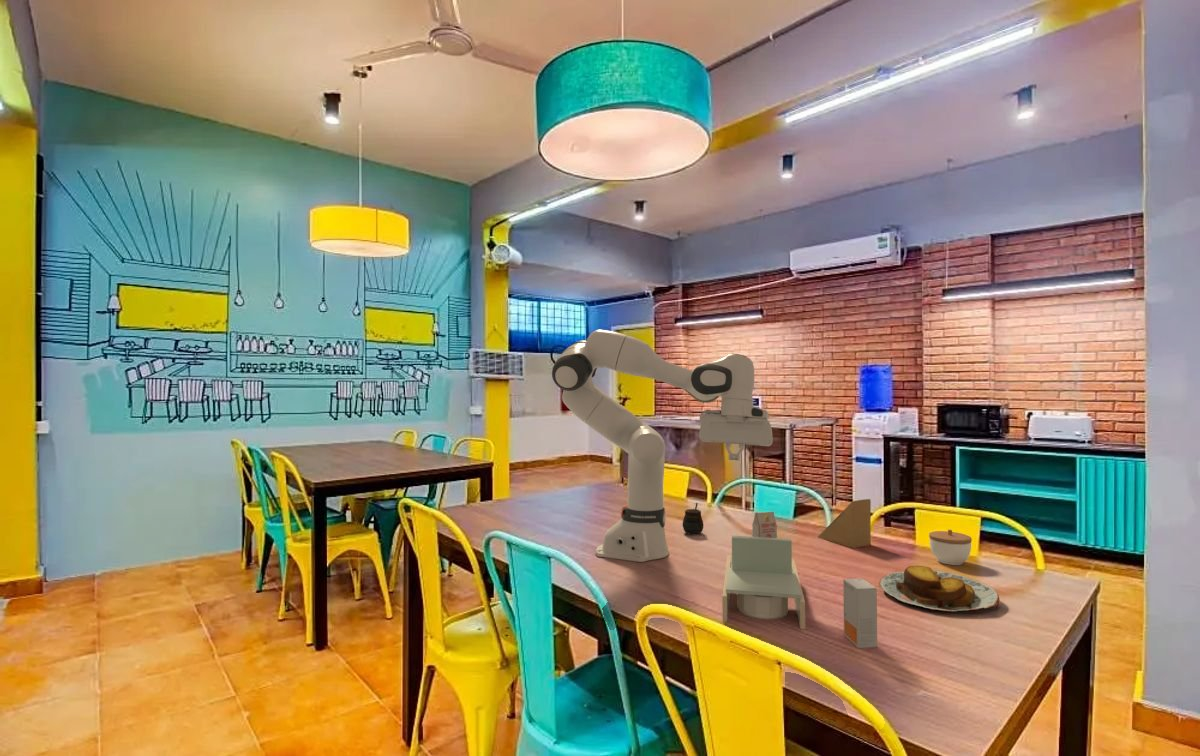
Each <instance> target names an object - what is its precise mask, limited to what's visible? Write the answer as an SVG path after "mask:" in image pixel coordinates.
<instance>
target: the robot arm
mask: <svg viewBox="0 0 1200 756" xmlns="http://www.w3.org/2000/svg"><path fill="white" fill-rule="evenodd" d="M598 368H606V369H608V370H609V369H610V370H612V371H615V372H618V373H622V374H626V375H630V376H636V377H642V378H647V379H652V380H656V381H659V382H662V383H665V384H667V385H671V386H672V387H675V388H678V389H681V390H683V391H685V392H686V393H687V394H689V396H691V397H692V398H693V399H694V400H696V401H698V402H700V403H705V404H706V403H707V404H708V403H713V402H714V401H716V400H717V399H718V398H721V401H720V402H721V406H720V410H719V409H715V410H714V409H713V410H711V409H705V410H704V411H701V413H700V414H699V424H700V428H699V434H698V439H699V440H700V441H701V442H703V443H717V444H724V445H725V449H726V451H727V453H728V460H729V461H741V460H740V459H741V454H742V453H743V451H744V450H745V445H746V446H761V447H762V446H763V447H770V446H771V445H772V444H773V430H772V424H771V422H770V421H769V418H770V413H769V412H768V410H765V409H762V408H760V407H758V406H755V405H754V397H753V391H754V390H755V389H754V388H755V366H754V363H753V360H752V359H751V358H749V357H748V356H745V355H743V354H738V353H729V354H727V355H725V356H724V357H722V358H720V359H718V360H714V361H711V362H705V363H701V364H699V365H698V366H696V367H695V368H694V369H689V368H686V367H683V366H681V365H678V364H674V363H672V362H669V361H667V360H665V359H663V358H662V357H661V356H659V355H658V354H657V353H656V352H655V351H654V349H653V348H652V347H651V345H649V344H648V343H646V342H645V341H643V340H640V339H638V338H637V337H633V336H630V335H627V334H624V333H621V332H617V331H612V330H605V329H596V330H594V331H592V332H591V333H590V334H589V335H588V337H587V338H586V340H577V341H575V342H573V343H572V344H571V345H569V346H568V347H567V348H566V349H564V351H562V353H561V354H560V357H559V358H557V360H555V362H554V365H553V367H552V371H551V377H552V380H553V383H554V384H555V385H556V386H557V387H558V388H560V390H563V392H562V395H561V399H562V402H563V404H564V405H565V406H566V407H567V409H569V411H570V412H571V413H573V414H574V416H575V417H577V418H578V419H579V420H581V421H582V422H583V423H584V424H586V425H588V426H589V427H590V428H592V429H593V430H594V431H596V433H598V434H600V436H602V437H603V438H605V439H606V440H608V441H609V442H611V443H612V444H614V445H616V446H617V447H618V448H619V449H621V450H622V451H624V452H625V453H626V454H627V455H628V456H627V459H628V461H627V462H628V463H627V505H626V504H625V505H623V507H622V508H621V510H620V520H618V521H617V522H616V523H615V524H614V525H612V526H610V527H609V528H608V529H607V531H606V532H605V534H604V536H603V541H602V544H599V545H598V546H597V548H596V549H595V555H596V556H597V557H600V558H602V557H603V558H606V559H607V558H609V559H615V560H616V559H617V560H623V561H631V562H639V563H644V562H648V561H651V560H657V559H658V560H659V559H662V558H665V557H667V556H669V554H670V551H669V548H668V544H667V540H666V539H667V538H666V532H665V526H666V510H665V507H664V477H665V475H664V474H665V459H666V456H665V455H666V443H665V440H664V438H663V437H662V435H661V434H660V433H659V432H658V431H656V429H654V428H653V427H651V425H648V424H647V423H646V422H644V421H643V420H642V419H640V418H639V417H637V416H636V415H635V414H633V412H631V411H630V410H628V409H627V408H625V407H624V406H623V405H621V403H619V402H618V401H616V400H615V399H614V398H612V397H611V396H610V395H608V394H606V392H604V391H602V390H601V389H599V388H598V386H596V385H595V384H594V381H593V378H594V376H595V375H596V371H597V369H598ZM732 445H738V448H739V450H738V452H737V453H733V452H732V451H731V449H730V448H731V447H732Z"/></svg>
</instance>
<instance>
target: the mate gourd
mask: <svg viewBox="0 0 1200 756" xmlns="http://www.w3.org/2000/svg"><path fill="white" fill-rule="evenodd" d="M698 505H699V504H698V502H695V506H694V507H695V508H689V509H685V510H684V517H683V520H682V528H683V531H684V532H685V533H686V534H687V535H690V536H691V535H692V536H693V535H697V536H698V535H700V534H701V533H702V532H703V530H704V521H703V518H702V511H701V510H700V509H697V508H698Z"/></svg>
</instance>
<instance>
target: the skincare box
mask: <svg viewBox="0 0 1200 756" xmlns="http://www.w3.org/2000/svg"><path fill="white" fill-rule="evenodd" d="M842 585H843V636H845V637H846V638H847V639H848V640H849V642H851V643H852V644H853V645H854V646H855V647H856V648H858V649H865V648H867V649H870V648H871V649H873V648H877V647H878V602H877V601H878V598H877V597H878V594H877V593H878V589H877V587H876V586H875V585H872V583H870V582H868V581H867V580H865V579H863V578H843V584H842Z"/></svg>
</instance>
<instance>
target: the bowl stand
mask: <svg viewBox="0 0 1200 756" xmlns="http://www.w3.org/2000/svg"><path fill="white" fill-rule="evenodd" d="M795 561H796V560H795V559H794V558H792V572H796V576H797V580H798V584H799V588H800V593H801V599H799V598H793V599H794V604H795V610H796V615H797V619H798V623H799V628H800V629H802V630H806V601H805V597H804V592H803V588H802V586H801V581H800V578H799V577H800V576H799V573H798V569H797V566H796V562H795ZM728 568H732V554H727V555H726V564H725V572H724V580H723V590H722V596H721V597H722V599H721V601H722V604H721V605H722V622H723V623H728V616H729V607H730V605H729V604H730V594H731V593H726V583H727V574H728ZM736 595H737V598H736V599H737V610H738V612H739V613H741V614H742V615H744V616H747V617H749V618H752V619H753V618H754V619H758V620H769V621H770V620H777V619H782V618H785V617H786V616H787V615H788V610H789V601H788V599H789V598H786V597H773V596H760V595H747V594H736Z"/></svg>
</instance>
